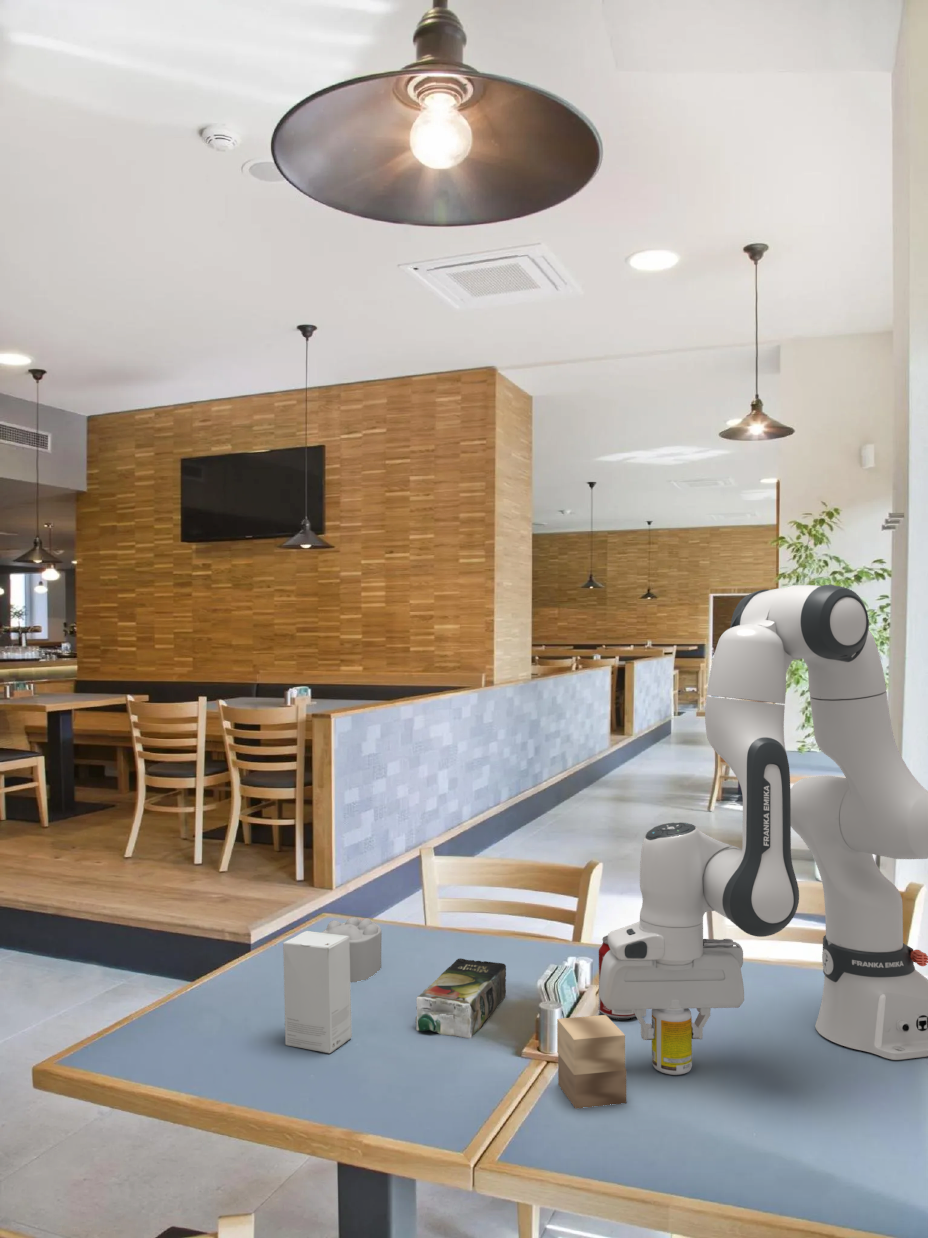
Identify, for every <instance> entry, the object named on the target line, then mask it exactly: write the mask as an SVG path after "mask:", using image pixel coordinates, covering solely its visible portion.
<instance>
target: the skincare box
mask: <svg viewBox="0 0 928 1238" xmlns="http://www.w3.org/2000/svg"><path fill="white" fill-rule="evenodd" d="M349 946H350V945H349V936H344V935H336V934H327V933H321V932H319V931H310V930H305V931H303V932H301V933H299V934H297V935H296V936H294V937H292V938H290V939H287V940H285V941H283V943H282V950H283V955H282V956H283V987H284V988H283V989H284V991H283V992H284V993H283V995H284V998H283V999H284V1029H285V1030H284V1031H285V1032H284V1033H285V1037H284V1038H285V1039H284V1040H285V1043H284V1044H285V1046H289V1047H295V1048H299V1049H305V1050H310V1051H316V1052H321V1053H325V1054H331V1053H333V1052H334V1051H336V1050H337V1049H339V1048H340V1047H341V1046H343V1045H344V1044H345V1043H347V1042H348V1041H349V1040H351V1038H352V1037H353V1036H352V1034H353V1033H352V999H351V998H352V997H351V982H350V949H349Z"/></svg>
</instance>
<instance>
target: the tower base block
mask: <svg viewBox="0 0 928 1238" xmlns="http://www.w3.org/2000/svg"><path fill="white" fill-rule="evenodd" d="M557 1055H558V1056H557V1057H558V1058H557V1059H558V1060H557V1062H558V1063H557V1066H558V1068H557V1069H558V1070H557V1071H558V1072H557V1076H558V1077H557V1079H558V1080H557V1084H558V1087H559V1088H560V1087H561V1088H560V1089H561V1090H563V1091H562V1092H563V1093H564V1095H565V1096H566V1098H567V1099H568V1100H569V1102H570V1101H571V1102H570V1103H571V1104H573V1105H572V1106H573V1107H574V1109H575V1110H577V1108H579V1109H584V1108H583V1107H588V1108H595V1107H594V1106H598V1107H605V1105H607V1106H613V1105H612V1104H616V1105H622V1104H621V1103H625V1104H627V1068H625V1070H622V1071H611V1072H601V1073H590V1074H580V1075H574V1074H573V1073H572V1072H571V1070H570V1069H569V1067H568V1066H567V1065H566V1063H565V1062H564V1061H563V1059H562V1058H561V1057H560V1055H559V1054H557ZM610 1104H611V1105H610ZM603 1105H604V1106H603ZM592 1106H593V1107H592Z"/></svg>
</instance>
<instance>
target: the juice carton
mask: <svg viewBox="0 0 928 1238" xmlns="http://www.w3.org/2000/svg"><path fill="white" fill-rule="evenodd" d="M506 977H507V965H506V964H505V963H503V962H493V961H484V960H483V961H481V960H472V959H465V958H457V959H456V960H455V961H454V962H453V963H451V965H450V966H449V967H447V968H446V969H445V970H444V971H443V972H442V973H441V974H440V975H439V976H438V977H437V978H436V979H435V980H434V981H433V982H432V983H431V984H429V985H428V986H427V988H425V989H424V990H423V991H422V992H421V993H420V994H419V995H417V997H416V999H415V1000H416V1002H415V1003H416V1007H415V1008H416V1016H415V1024H416V1028H415V1029H416V1031H418V1032H424V1031H431V1032H433V1033H438V1034H439V1035H443V1036H444V1035H445V1036H451V1037H452V1036H454V1037H459V1038H464V1039H465V1038H466V1039H471V1038H472V1037H474V1035H475V1034H476V1032H478V1031H479V1030H481V1028H482V1026H483V1024H484V1023H485V1022H486V1020H487V1019H488V1018H489V1017H490V1016H491V1014H493V1013H494V1011H495V1010H496V1009H497V1008H498V1006H499V1005H500V1004H501V1003H502V1002H503V1001H504V999H505V998H506V996H507V995H506V994H507V987H506V984H507V983H506V982H507V979H506Z"/></svg>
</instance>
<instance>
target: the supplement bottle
mask: <svg viewBox="0 0 928 1238" xmlns="http://www.w3.org/2000/svg"><path fill="white" fill-rule="evenodd" d="M692 1018H693V1017H692V1011H691V1010H690V1008H687V1009H683V1008H681V1006H680V1005H679V1000H672V1001H671V1005H670V1007H669V1008H668V1009H651V1025H652V1026H653V1028H654V1034H653V1035H654V1040H651V1063H652V1066H653V1068H654V1069H655V1070H657V1071H659V1072H660V1073H663V1074H666V1075H673V1076H678V1075H684V1074H687V1073H689V1072H690V1071H691V1069H692V1066H693V1042H692V1041H693V1039H692V1023H693V1022H692V1020H693V1019H692Z"/></svg>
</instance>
